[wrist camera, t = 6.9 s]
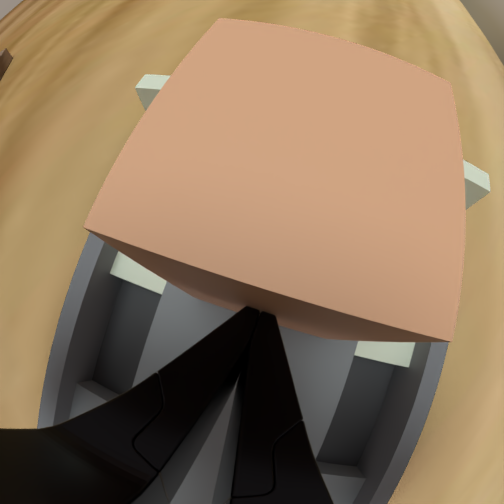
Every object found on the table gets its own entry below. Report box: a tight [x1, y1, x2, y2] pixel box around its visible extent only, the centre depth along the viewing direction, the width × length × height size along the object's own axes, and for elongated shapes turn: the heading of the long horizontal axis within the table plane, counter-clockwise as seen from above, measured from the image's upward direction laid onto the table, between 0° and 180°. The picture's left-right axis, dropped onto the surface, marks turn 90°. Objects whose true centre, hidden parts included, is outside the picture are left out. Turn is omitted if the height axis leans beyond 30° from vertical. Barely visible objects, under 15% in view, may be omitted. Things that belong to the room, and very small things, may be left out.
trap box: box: [37, 74, 490, 504], centre depth 11 cm, size 24×17×6 cm
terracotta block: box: [83, 18, 466, 342], centre depth 9 cm, size 6×6×9 cm
